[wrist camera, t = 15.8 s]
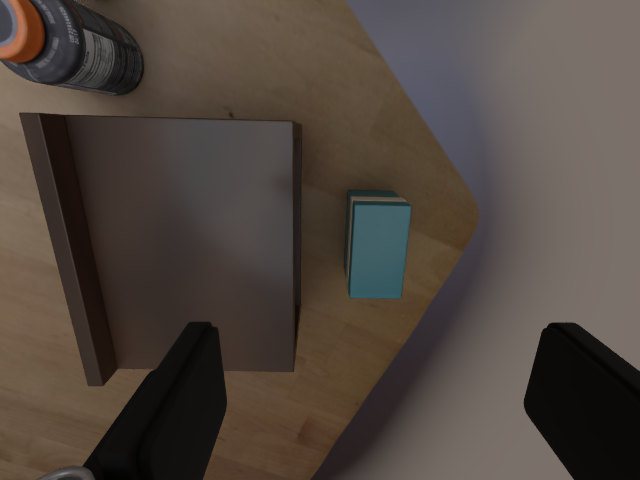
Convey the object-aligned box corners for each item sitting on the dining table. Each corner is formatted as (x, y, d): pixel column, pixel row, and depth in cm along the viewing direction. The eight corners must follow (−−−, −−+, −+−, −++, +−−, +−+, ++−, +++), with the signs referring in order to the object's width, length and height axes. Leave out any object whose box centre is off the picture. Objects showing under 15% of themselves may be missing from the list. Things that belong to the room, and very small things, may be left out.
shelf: (301, 124, 30) (290, 119, 19) (300, 310, 37) (291, 390, 25) (131, 120, 30) (18, 112, 19) (160, 307, 37) (87, 386, 25)
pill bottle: (63, 37, 28) (-96, -23, 17) (122, 9, 27) (-4, -70, 17) (101, 106, 30) (-22, 91, 19) (157, 81, 29) (62, 52, 18)
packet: (393, 190, 32) (412, 205, 26) (386, 268, 35) (401, 299, 28) (347, 189, 32) (354, 204, 26) (343, 267, 35) (348, 298, 28)
